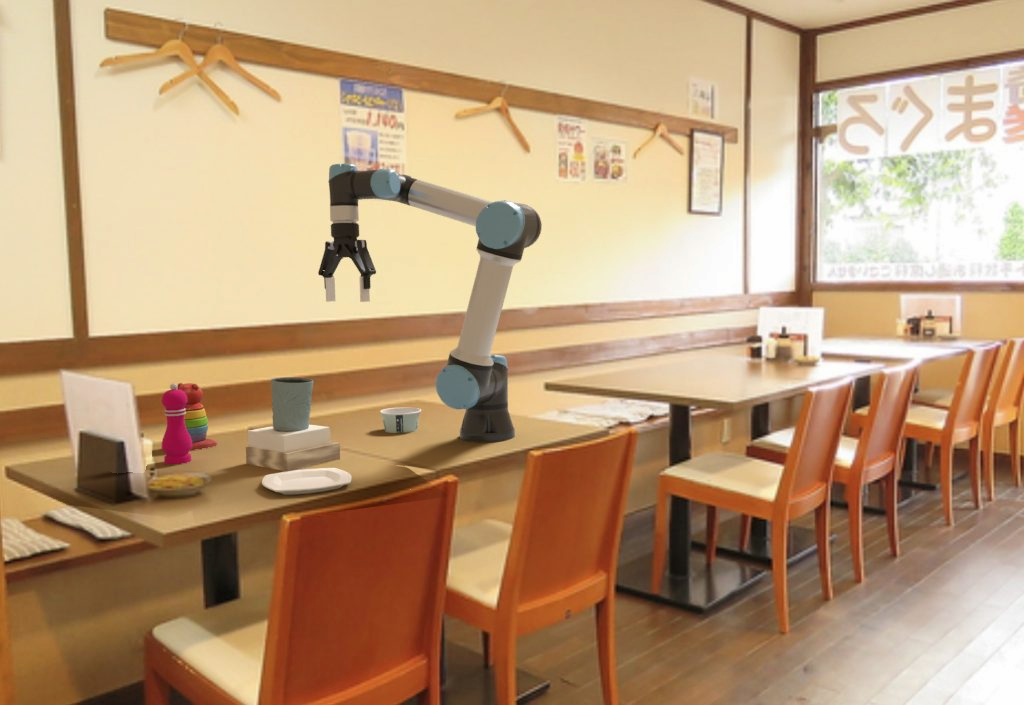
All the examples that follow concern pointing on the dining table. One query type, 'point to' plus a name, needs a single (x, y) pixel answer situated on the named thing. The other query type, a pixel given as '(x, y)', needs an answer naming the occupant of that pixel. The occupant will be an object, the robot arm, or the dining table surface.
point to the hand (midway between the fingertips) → (347, 301)
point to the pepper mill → (176, 427)
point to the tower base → (293, 457)
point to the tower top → (288, 438)
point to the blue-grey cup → (291, 403)
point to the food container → (400, 419)
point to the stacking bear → (196, 417)
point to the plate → (306, 480)
